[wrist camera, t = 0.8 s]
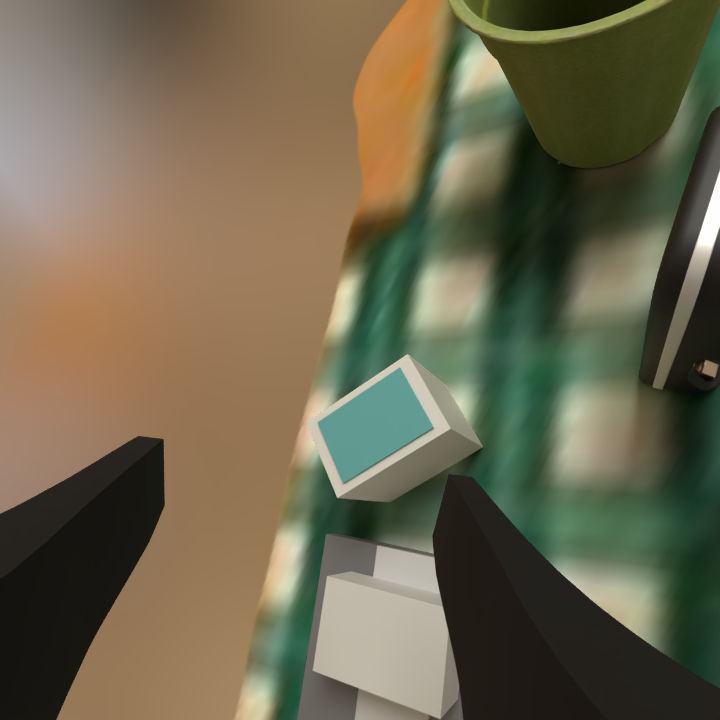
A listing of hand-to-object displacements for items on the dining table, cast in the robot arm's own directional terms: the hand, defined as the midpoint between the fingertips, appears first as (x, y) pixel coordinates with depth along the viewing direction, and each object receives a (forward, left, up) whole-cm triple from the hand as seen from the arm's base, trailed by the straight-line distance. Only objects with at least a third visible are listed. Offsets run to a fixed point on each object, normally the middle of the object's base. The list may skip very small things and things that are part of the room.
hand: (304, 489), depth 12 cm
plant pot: (+15, -18, -15) cm, 28 cm away
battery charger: (+2, -14, -15) cm, 21 cm away
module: (+4, +1, -15) cm, 15 cm away
